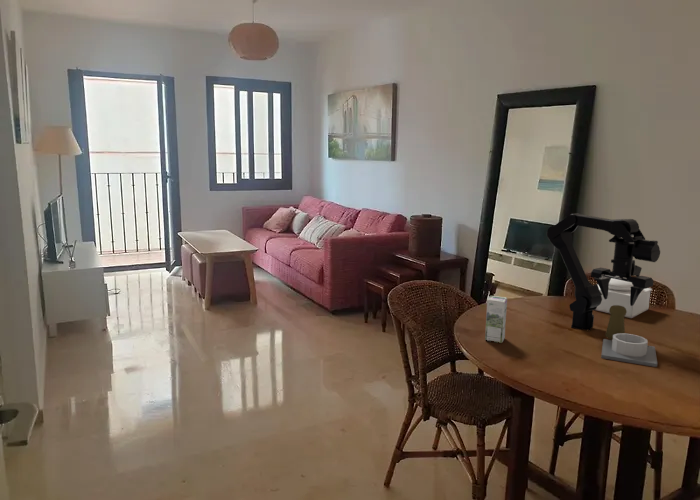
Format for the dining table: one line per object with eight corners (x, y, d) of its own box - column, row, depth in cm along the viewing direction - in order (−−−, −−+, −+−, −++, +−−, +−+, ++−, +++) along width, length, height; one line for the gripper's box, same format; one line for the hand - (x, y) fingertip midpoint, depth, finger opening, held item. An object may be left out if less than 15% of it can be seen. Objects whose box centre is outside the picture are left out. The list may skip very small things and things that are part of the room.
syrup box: (504, 338, 182) (507, 296, 179) (502, 343, 177) (504, 301, 174) (487, 335, 184) (490, 294, 182) (484, 341, 179) (486, 299, 176)
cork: (627, 340, 181) (630, 309, 178) (607, 339, 182) (611, 307, 180) (621, 334, 186) (625, 304, 184) (603, 333, 188) (606, 302, 185)
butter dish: (604, 300, 229) (607, 264, 226) (649, 310, 216) (654, 271, 213) (585, 308, 218) (589, 270, 215) (632, 319, 205) (637, 278, 202)
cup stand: (601, 358, 165) (602, 342, 164) (603, 341, 179) (604, 327, 178) (656, 367, 159) (658, 351, 158) (654, 349, 173) (656, 334, 172)
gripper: (664, 259, 176) (659, 305, 178) (610, 250, 191) (606, 292, 194) (646, 263, 170) (641, 310, 172) (592, 253, 185) (587, 297, 188)
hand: (618, 302), depth 182 cm, fingers open, 9 cm apart
